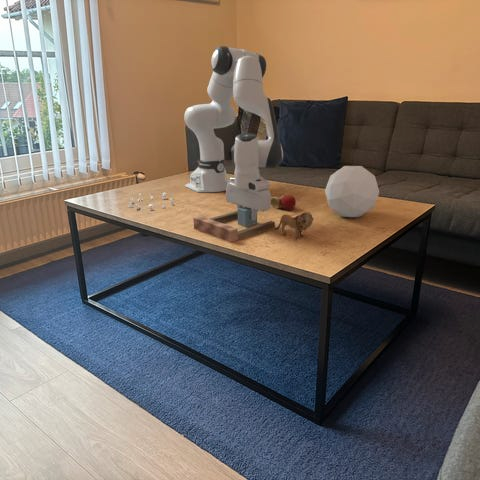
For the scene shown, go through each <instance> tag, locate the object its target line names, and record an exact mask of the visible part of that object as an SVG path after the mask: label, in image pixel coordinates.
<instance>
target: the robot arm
mask: <svg viewBox="0 0 480 480" xmlns="http://www.w3.org/2000/svg"><path fill="white" fill-rule="evenodd" d="M210 63H211V64H210V65H211V69H212V73H211V78H210V79H209V82H208V86H207V89H206V91H207V95H208V97H209V98H210V99H211V100H212V101H211V102H210V103H203V104H202V103H201V104H195V105H192V106H189V107H187V108H186V110H185V112H184V117H183V119H184V123H185V125H186V126H187V128H189V130H191V131H192V132H193V133H194V135H195V136H196V138H197V141H198V146H199V157H200V159H197V162H196V163H198V166H197V168H196V169H195V170H194V171H193V172H191V173H190V175H189V182H188V183H186V184H184V185H185V187H186V188H188V189H190V190H192V191H194V192H197V193H218V192H219V193H220V192H224V191H225V200H226V202H227V203H231V204H233V205H236V208H237V209H238V208H242V207H247V208H251V211H253V212H252V214H251V215H250V220H255V219H256V214H257V215H258V212H262V213H263V212H267V211H269V210H270V209H271V207H272V204H271V197H272V195H271V192H270V191H271V190H269V189H270V188H271V183H270V181H268V180H267V179H265V178H264V177H263V176H262V175H260V169H259V168H267V169H275V168H277V167H278V166H280V165H281V164H282V163H283V160H284V159H283V158H284V151H283V146H282V143H281V140H280V136H279V131H278V126H277V125H278V124H277V120H276V119H277V118H276V114H275V110H274V105H273V103H272V100H271V98H269V97H268V96H267V95H266V94H265V91H264V87H263V86H264V85H263V78H264V76H265V74H266V71H267V61H266V58H265V57H264V56H263V55H261V54H259V53H254V52H252V51H249V50H246V49H241V48H234V47H228V46H223V45H221V46H220V45H219V46H217V47H216V48H215V49H214V51H213V53H212V56H211V61H210ZM232 98H233V100H234V102H235V103H236V105H237V106H238V107H239V108H240V109H242V110H244V111H246V112H249V113H251V114H254V115H257V116H259V117H260V118H261V119H263V120H264V124H265V128H266V129H265V130H266V134H267V139H264V140H258V139H259V138H258V136H257V135H256V134H254V133H249V132H247V133H246V132H243V133H240V134H238V135H237V134H236V136H235V139H234V140H235V141H234V144H233V145H232V147H231V163H232V164H234V166H235V168H234V177H230V178H228V176H227V170H226V168H225V167H226V159H225V147H224V146H225V145H224V142H223V140H222V139H221V138H219V137H218V136H216V133H215V131H214V129H221V128H227V127H229V126H231V125H233V124H234V123H235V121H236V117H237V112H236V109H235V107H234V106H233V105H232Z"/></svg>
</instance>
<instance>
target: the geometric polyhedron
mask: <svg viewBox="0 0 480 480" xmlns="http://www.w3.org/2000/svg"><path fill="white" fill-rule="evenodd" d="M324 193H325V198H326V201H327V204H328V208H329V209H331V210H333V211H334V212H335V213H337V214H338V215H339V216H341V217H342V218H361V216H363V215H364V214H367V213H368V212H369V211H371V210H372V209H374V207H375V205H376V203H377V200H378V197H379V194H380V190H379V186H378V182H377V179H376V176H375V175H374V174H373V173H372V172H370V171H369V170H368V169H366V168H365V167H364V166H363V165H344V166H342V167H341V168H340V169H338V170H337V171H335V172H333V173H332V174H330V176H329V179H328V181H327V184H326V187H325V190H324Z"/></svg>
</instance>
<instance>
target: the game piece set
mask: <svg viewBox="0 0 480 480" xmlns="http://www.w3.org/2000/svg"><path fill="white" fill-rule="evenodd" d="M138 195H139V198H138V199H137V201H138V202H142V201H141V200H143V201H144V198H142V197H141V196H142V194H141V193H139V194H138ZM149 196H150V200H154V196H153V195H152V194H151V193H150V192H149ZM166 197H167V193H166V192H162V199H163V200H166ZM129 200H130V202H129V204H128V208H130V209H132V208H133V207H134V206H133V204H134V198H132V197H130V198H129ZM139 200H140V201H139ZM169 202H170V205H172V204H173V205H174V202H175V201H174V199H173V198H172V197H171V198H170V199H169ZM132 203H133V204H132ZM153 206H154V205H153V204H152V203H149V204H148V209H149V211H153V210H154V209H153ZM161 207H162V209H166V205H165V204H163V205H162V206H161ZM134 208H135V209H136V210H137V211H138V210H139V209H141V205H140V206H139V205H138V204H135V207H134Z"/></svg>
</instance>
